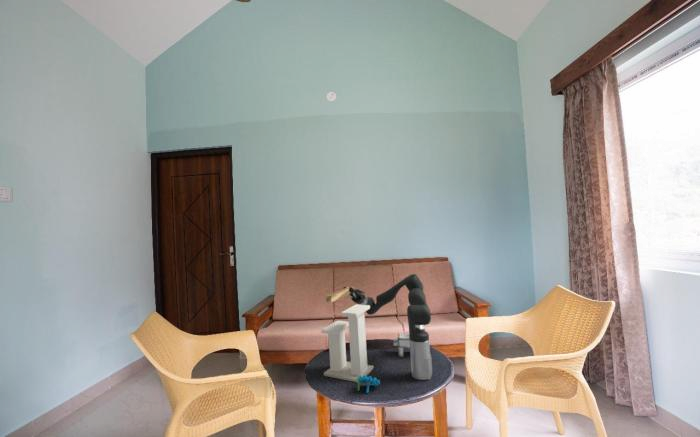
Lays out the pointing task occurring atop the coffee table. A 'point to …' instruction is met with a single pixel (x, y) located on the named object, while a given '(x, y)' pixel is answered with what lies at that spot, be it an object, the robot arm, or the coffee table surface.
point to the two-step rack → (357, 345)
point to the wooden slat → (338, 294)
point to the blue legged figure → (367, 382)
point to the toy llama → (404, 341)
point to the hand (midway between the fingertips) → (347, 288)
